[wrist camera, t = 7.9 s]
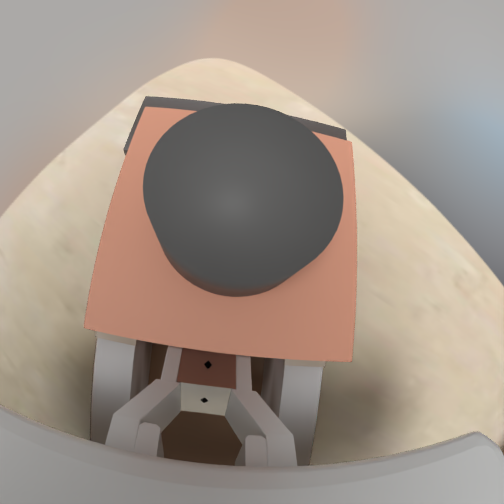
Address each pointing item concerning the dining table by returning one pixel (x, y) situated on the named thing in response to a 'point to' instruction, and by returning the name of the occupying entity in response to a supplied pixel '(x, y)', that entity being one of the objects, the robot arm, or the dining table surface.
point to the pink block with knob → (231, 237)
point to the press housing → (194, 423)
